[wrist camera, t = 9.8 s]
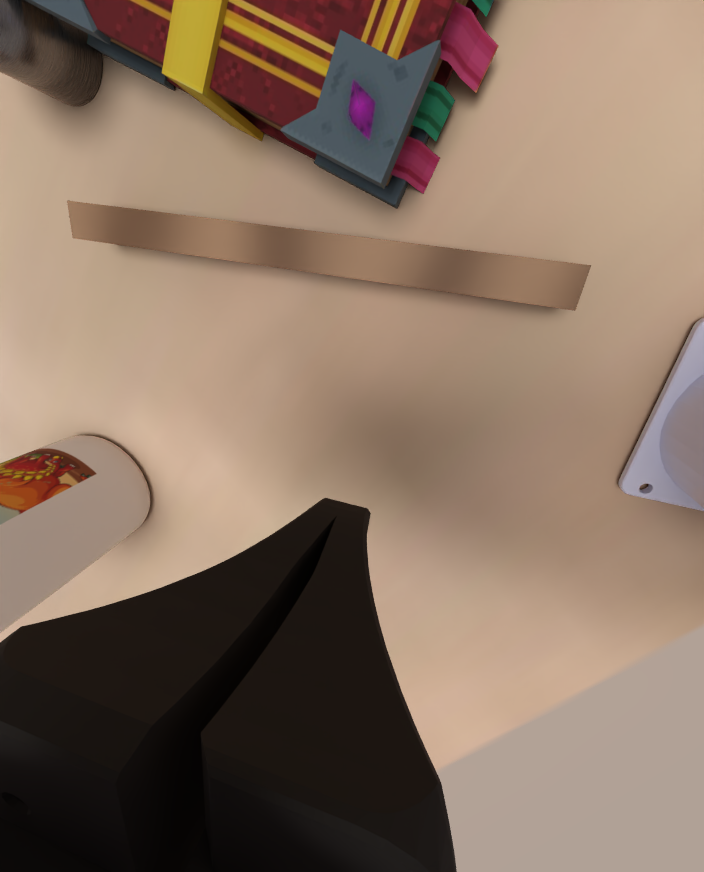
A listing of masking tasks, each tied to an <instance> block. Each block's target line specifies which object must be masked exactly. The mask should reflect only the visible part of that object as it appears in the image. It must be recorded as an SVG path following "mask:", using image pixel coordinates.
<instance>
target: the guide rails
mask: <svg viewBox="0 0 704 872" xmlns="http://www.w3.org/2000/svg"><path fill="white" fill-rule="evenodd" d="M67 203H68V209H69V216H70V223H71V229H72V236H73V238H76V239H83V240H90V241H97V242H104V243H111V244H118V245H124V246H131V247H138V248H145V249H152V250H159V251H166V252H173V253H180V254H187V255H194V256H201V257H208V258H215V259H221V260H228V261H235V262H242V263H249V264H256V265H263V266H270V267H277V268H284V269H291V270H298V271H305V272H311V273H318V274H325V275H332V276H339V277H346V278H353V279H360V280H367V281H374V282H381V283H388V284H395V285H402V286H408V287H415V288H422V289H429V290H436V291H443V292H450V293H457V294H464V295H471V296H478V297H485V298H492V299H499V300H505V301H512V302H519V303H526V304H533V305H540V306H547V307H554V308H561V309H568V310H576V307H577V304H578V301H579V298H580V295H581V293H582V290H583V287H584V284H585V281H586V278H587V276H588V273H589V270H590V267H591V265H583V264H575V263H567V262H558V261H550V260H542V259H534V258H526V257H518V256H510V255H502V254H494V253H486V252H478V251H470V250H461V249H453V248H445V247H437V246H429V245H421V244H413V243H405V242H397V241H389V240H381V239H372V238H364V237H356V236H348V235H340V234H332V233H324V232H316V231H308V230H300V229H292V228H284V227H275V226H267V225H259V224H251V223H243V222H235V221H227V220H219V219H211V218H203V217H195V216H186V215H178V214H170V213H162V212H154V211H146V210H138V209H130V208H122V207H114V206H106V205H98V204H89V203H81V202H73V201H67Z"/></svg>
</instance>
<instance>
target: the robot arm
mask: <svg viewBox="0 0 704 872" xmlns="http://www.w3.org/2000/svg"><path fill="white" fill-rule="evenodd" d="M618 484H619V487H620V488H621V490H622V491H623V492H624V493H626V494H628V495H633V496H637V497H642V498H646V499H651V500H655V501H660V502H664V503H669V504H673V505H678V506H682V507H687V508H692V509H696V510H701V511H704V318H701V319H700V320H699V321H697V322H696V323H695V325H694V326H693V328H692V330H691V332H690V334H689V336H688V338H687V340H686V342H685V344H684V346H683V348H682V350H681V353H680V355H679V357H678V359H677V361H676V363H675V365H674V367H673V369H672V371H671V373H670V375H669V377H668V380H667V382H666V384H665V386H664V388H663V390H662V392H661V394H660V396H659V398H658V400H657V402H656V404H655V406H654V409H653V411H652V413H651V415H650V417H649V419H648V421H647V423H646V425H645V427H644V429H643V431H642V433H641V436H640V438H639V440H638V442H637V444H636V446H635V448H634V450H633V452H632V454H631V456H630V458H629V460H628V463H627V465H626V467H625V469H624V471H623V473H622V475H621V477H620V479H619V483H618ZM643 484H649V485H648V487H647V488H645V489H639V488H640V486H641V485H643ZM370 514H371V513H370V512H369V510H368V509H367V508H363V507H359V506H355V505H351V504H348V503H344V502H340V501H336V500H332V499H328V498H324V499H322V500H321V501H319V502H318V503H317V504H315V505H314V506H312V507H311V508H310V509H308V510H307V511H306V512H304V513H303V514H301V515H300V516H299V517H297V518H296V519H294V520H293V521H291V522H290V523H288V524H287V525H285V526H284V527H282V528H281V529H279V530H278V531H276V532H275V533H273V534H272V535H270V536H269V537H267V538H265V539H264V540H262V541H260V542H258V543H257V544H255V545H253V546H252V547H250V548H248V549H247V550H245V551H243V552H241V553H239V554H237V555H236V556H234V557H232V558H230V559H228V560H226V561H224V562H222V563H220V564H217V565H215V566H213V567H211V568H209V569H207V570H204V571H202V572H200V573H197V574H195V575H192V576H190V577H187V578H184V579H182V580H179V581H177V582H174V583H172V584H169V585H167V586H164V587H162V588H159V589H156V590H153V591H150V592H147V593H144V594H141V595H138V596H135V597H132V598H129V599H126V600H122V601H119V602H116V603H113V604H109V605H106V606H102V607H99V608H95V609H92V610H88V611H84V612H80V613H76V614H72V615H68V616H64V617H60V618H56V619H52V620H48V621H44V622H40V623H36V624H31V625H27V626H22V627H20V628H19V629H17V630H16V631H15V632H13V633H12V634H11V635H9V636H8V637H7V638H6V639H4V640H3V641H2V642H0V872H456V863H455V855H454V849H453V842H452V836H451V831H450V825H449V819H448V814H447V809H446V805H445V800H444V795H443V790H442V785H441V782H440V779H439V777H438V775H437V773H436V770H435V768H434V766H433V764H432V762H431V760H430V758H429V755H428V753H427V751H426V749H425V747H424V744H423V742H422V740H421V738H420V735H419V733H418V731H417V728H416V726H415V724H414V721H413V719H412V716H411V714H410V711H409V709H408V706H407V704H406V701H405V699H404V697H403V694H402V692H401V689H400V686H399V683H398V680H397V677H396V674H395V671H394V669H393V666H392V663H391V660H390V657H389V654H388V651H387V648H386V645H385V642H384V638H383V634H382V631H381V627H380V624H379V620H378V616H377V612H376V607H375V603H374V598H373V593H372V587H371V581H370V575H369V567H368V555H367V530H368V525H369V519H370Z"/></svg>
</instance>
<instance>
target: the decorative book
mask: <svg viewBox="0 0 704 872" xmlns="http://www.w3.org/2000/svg"><path fill="white" fill-rule="evenodd" d="M25 1H27V2H28V3H30V4H32V5H34V6H36V7H38V8H40V9H42V10H44V11H46V12H48V13H50V14H51V15H53V16H55V17H57V18H59V19H61V20H63V21H65V22H67V23H69V24H71V25H73V26H74V27H76V28H78V29H80V30H82V31H84V32H86V33H88V40H87V44H88V45H90V46H91V47H93V48H94V49H96V50H97V51H99V52H100V53H102V54H104V55H106V56H108V57H110V58H112V59H114V60H115V61H117V62H119V63H121V64H123V65H125V66H127V67H129V68H131V69H133V70H135V71H137V72H139V73H141V74H143V75H145V76H147V77H148V78H150V79H152V80H154V81H156V82H158V83H160V84H162V85H164V86H166V87H168V88H170V89H172V90H174V86H176V87H177V88H179V89H181V90H183V91H185V92H187V93H189V94H190V95H192V96H193V97H194V98H196V99H197V100H198V101H200V102H201V103H202V104H204V105H205V106H206V107H208V108H209V109H210V110H212V111H213V112H214V113H216V114H217V115H218V116H220V117H221V118H222V119H224V120H225V121H226V122H228V123H229V124H230V125H232V126H234V127H236V128H238V129H239V130H241V131H243V132H245V133H247V134H249V135H251V136H253V137H255V138H257V139H258V140H260V141H262V139H263V135H264V133H265V134H267V135H269V136H271V137H273V138H275V139H277V140H278V141H280V142H282V143H284V144H286V145H288V146H290V147H292V148H294V149H296V150H297V151H299V152H301V153H303V154H305V155H307V156H309V157H311V158H313V159H315V161H314V163H315V164H316V165H317V166H319V167H320V168H322V169H324V170H326V171H328V172H329V173H331V174H333V175H335V176H337V177H339V178H341V179H343V180H344V181H346V182H348V183H350V184H352V185H354V186H356V187H357V188H359V189H361V190H363V191H365V192H367V193H369V194H371V195H372V196H374V197H376V198H378V199H380V200H382V201H384V202H385V203H387V204H389V205H391V206H393V207H395V208H398V206H399V203H400V201H401V199H402V197H403V194H404V192H405V190H406V188H407V185H408V183H409V184H411V185H412V186H413V187H414V188H416V189H417V190H418V191H420V192H421V193H423V194H424V191H425V189H426V187H427V185H428V183H429V181H430V179H431V176H432V174H433V172H434V170H435V168H436V166H437V164H438V162H439V159H440V157H438V156H437V155H436V154H434V153H433V152H432V151H431V150H430V149H429V148H428V147H427V146H426V142H427V140H428V138H429V136H431V137H432V138H433V139H434V140H435V141H437V138H438V136H439V134H440V132H441V130H442V128H443V125H444V123H445V121H446V119H447V117H448V114H449V112H450V110H451V108H452V106H453V104H454V101H455V100H454V99H453V97H452V96H451V95H450V94H449V92H448V91H447V90H446V89H445V88H446V86H447V83H448V81H449V79H450V77H451V74H452V72H453V70H455V72H456V73H457V74H458V76H459V77H460V78H461V79H462V80H463V81H464V82H465V83H466V84H467V85H468V86H469V87H470V88H471V89H472V90H473V91H474V92H475V93H476V92H477V90H478V88H479V86H480V84H481V82H482V80H483V78H484V75H485V73H486V71H487V69H488V67H489V65H490V63H491V61H492V59H493V57H494V54H495V52H496V50H497V48H498V45H497V44H496V43H495V42H494V40H493V39H492V38H491V37H490V36H489V35H488V34H487V33H486V32H485V31H484V30H483V28H482V27H481V25H480V23H479V22H478V20H477V16H478V13H479V11H480V10H481V11H482V12H483V14H484V15H485V16H486V17H487V15H488V12H489V10H490V8H491V6H492V3H493V1H494V0H25ZM173 85H174V86H173ZM174 91H175V90H174Z"/></svg>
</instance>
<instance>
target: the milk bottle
mask: <svg viewBox="0 0 704 872" xmlns="http://www.w3.org/2000/svg"><path fill="white" fill-rule="evenodd" d="M149 509H150V492H149V488H148V485H147V482H146V480H145V478H144V476H143V473H142V472H141V470H140V469H139V467H138V466H137V464H136V463H135V462H134V461H133V460H132V458H131V457H130V456H129V455H128V454H127V453H125V452H124V451H123V450H122V449H121V448H120V447H118V446H116V445H115V444H113V443H112V442H110V441H107V440H105V439H103V438H99V437H95V436H84V435H78V436H73V437H69V438H67V439H64V440H61V441H58V442H55V443H52V444H50V445H47V446H45V447H42V448H39V449H37V450H34V451H32V452H29V453H26V454H24V455H21V456H19V457H16V458H13V459H11V460H8V461H6V462H3V463H0V633H1V632H2V631H4V630H5V629H6V628H8V627H9V626H10V625H12V624H13V623H14V622H16V621H17V620H18V619H20V618H21V617H22V616H24V615H25V614H26V613H28V612H29V611H30V610H32V609H33V608H34V607H36V606H37V605H38V604H40V603H41V602H42V601H44V600H45V599H46V598H48V597H49V596H50V595H52V594H53V593H54V592H56V591H57V590H58V589H60V588H61V587H62V586H63V585H65V584H66V583H67V582H69V581H70V580H71V579H73V578H74V577H75V576H77V575H78V574H79V573H81V572H82V571H83V570H84V569H86V568H87V567H88V566H90V565H91V564H92V563H94V562H95V561H96V560H98V559H99V558H100V557H102V556H103V555H104V554H105V553H107V552H108V551H109V550H111V549H112V548H113V547H115V546H116V545H117V544H119V543H120V542H121V541H122V540H124V539H125V538H126V537H128V536H129V535H130V534H131V533H133V532H134V531H135V530H136V529H137V528H139V527H140V526H141V525H142V523H143V522H144V520H145V518H146V517H147V514H148V511H149Z"/></svg>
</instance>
